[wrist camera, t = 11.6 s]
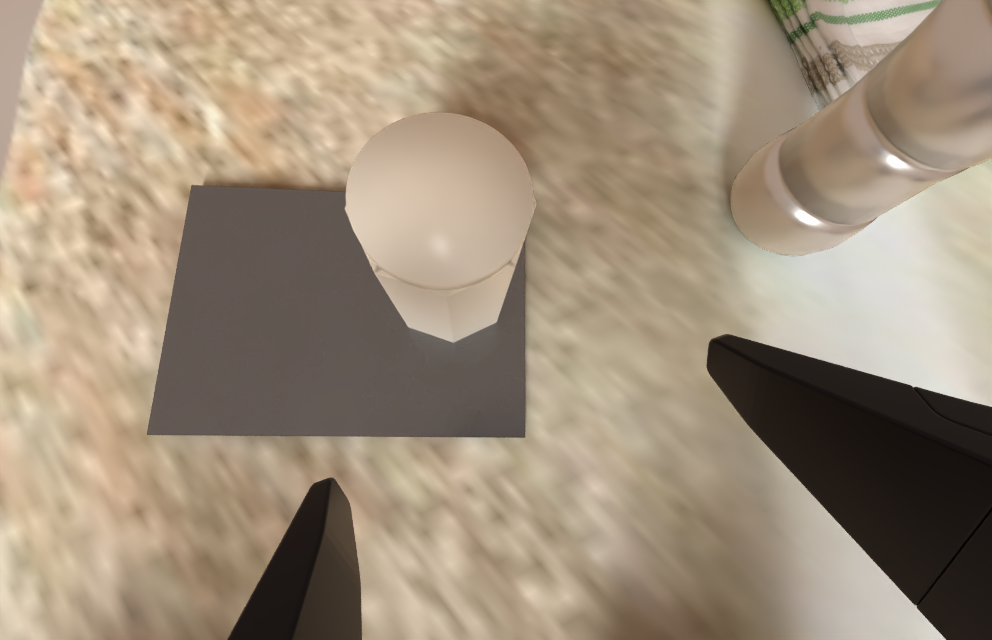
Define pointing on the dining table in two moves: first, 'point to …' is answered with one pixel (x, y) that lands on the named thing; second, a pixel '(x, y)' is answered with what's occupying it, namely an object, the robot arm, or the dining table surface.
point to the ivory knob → (441, 219)
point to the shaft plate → (317, 334)
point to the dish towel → (845, 37)
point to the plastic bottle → (876, 138)
